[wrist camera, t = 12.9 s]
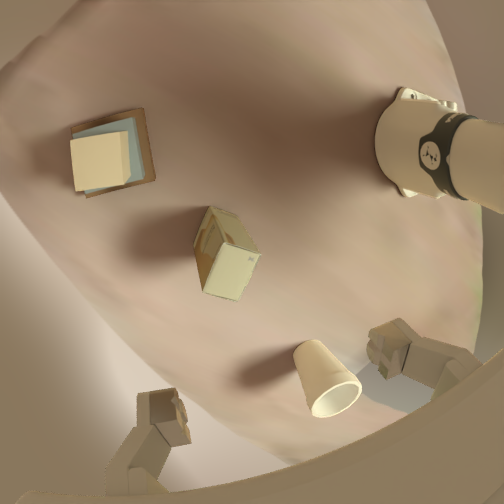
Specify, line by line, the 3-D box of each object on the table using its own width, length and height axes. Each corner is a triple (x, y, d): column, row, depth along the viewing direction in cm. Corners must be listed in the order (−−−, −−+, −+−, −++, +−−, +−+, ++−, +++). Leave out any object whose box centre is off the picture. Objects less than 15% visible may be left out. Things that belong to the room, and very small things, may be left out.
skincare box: (208, 204, 40) (224, 238, 29) (238, 215, 41) (264, 251, 31) (191, 247, 42) (200, 294, 31) (220, 256, 43) (238, 304, 32)
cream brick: (127, 130, 28) (119, 131, 24) (130, 175, 30) (123, 184, 26) (84, 137, 27) (69, 140, 23) (88, 181, 29) (75, 191, 25)
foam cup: (337, 336, 57) (371, 380, 45) (315, 370, 59) (343, 415, 48) (298, 330, 53) (330, 381, 42) (277, 367, 56) (301, 418, 44)
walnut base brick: (144, 108, 33) (141, 107, 30) (156, 176, 37) (155, 180, 34) (77, 127, 31) (70, 128, 29) (91, 192, 35) (86, 198, 33)
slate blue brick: (135, 117, 31) (132, 117, 28) (145, 174, 34) (143, 179, 31) (79, 133, 29) (72, 134, 27) (91, 188, 32) (85, 194, 30)
